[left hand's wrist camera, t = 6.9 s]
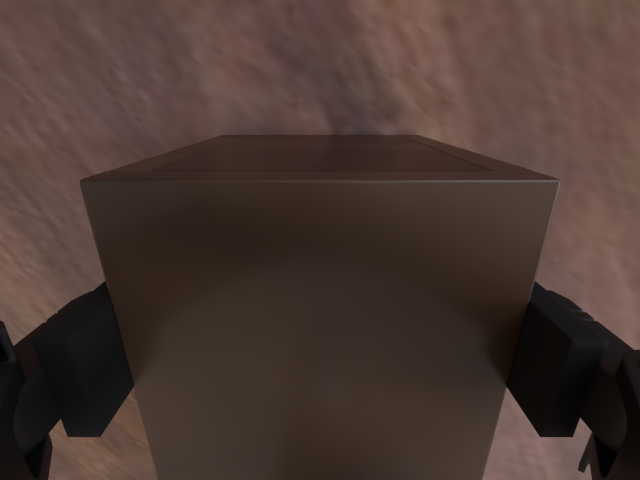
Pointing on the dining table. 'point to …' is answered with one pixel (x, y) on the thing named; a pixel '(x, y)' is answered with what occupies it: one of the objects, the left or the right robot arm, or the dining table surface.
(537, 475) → the dining table surface
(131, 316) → the brown block
